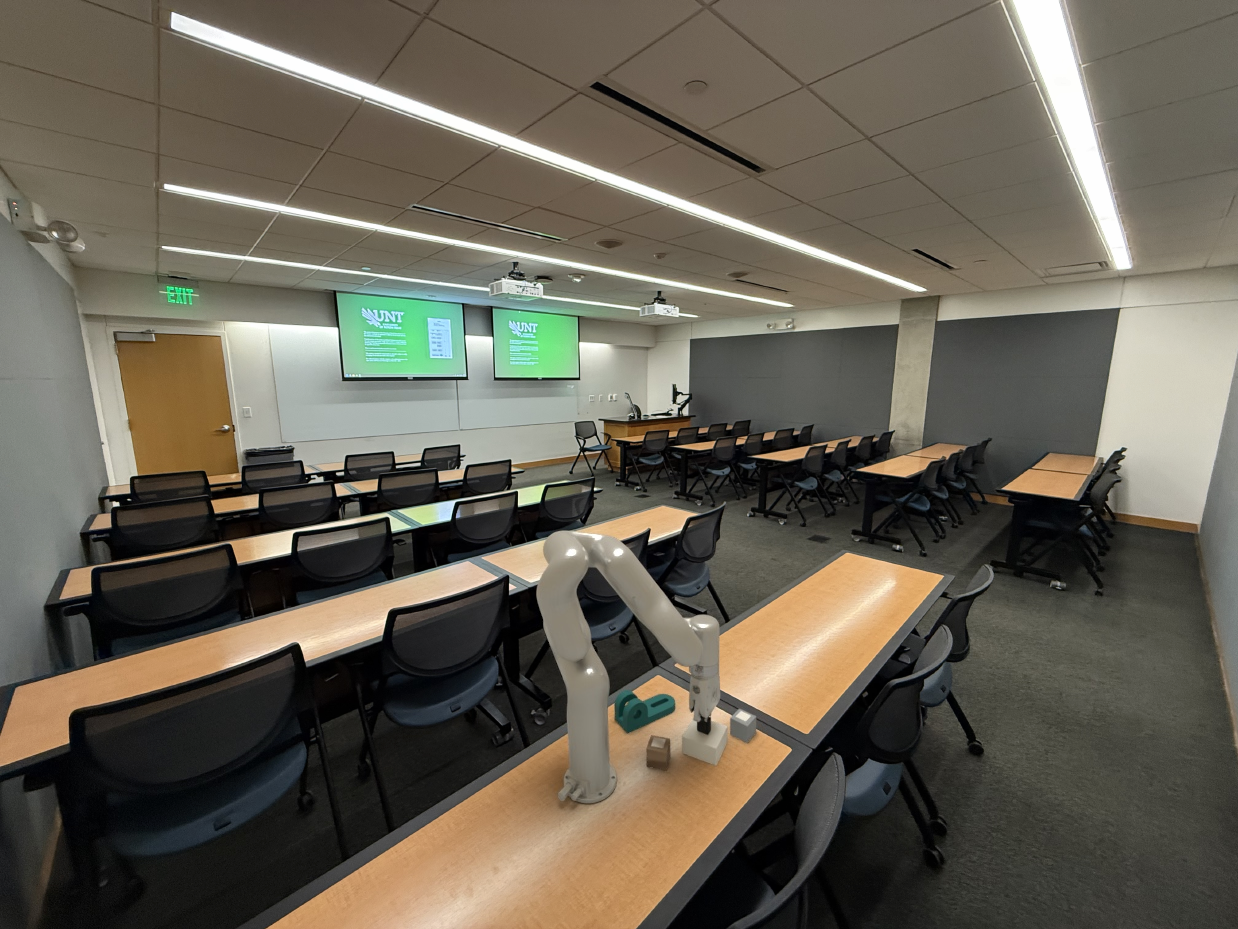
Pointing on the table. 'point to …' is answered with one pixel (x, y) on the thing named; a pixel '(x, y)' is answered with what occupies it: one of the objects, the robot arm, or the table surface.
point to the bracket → (641, 710)
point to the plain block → (705, 742)
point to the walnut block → (658, 752)
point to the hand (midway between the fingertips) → (703, 731)
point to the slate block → (743, 725)
